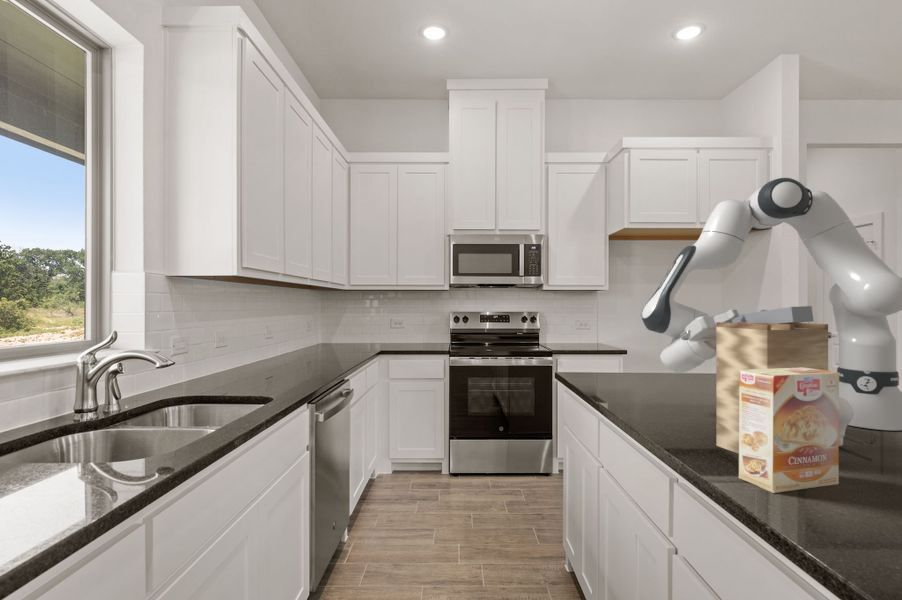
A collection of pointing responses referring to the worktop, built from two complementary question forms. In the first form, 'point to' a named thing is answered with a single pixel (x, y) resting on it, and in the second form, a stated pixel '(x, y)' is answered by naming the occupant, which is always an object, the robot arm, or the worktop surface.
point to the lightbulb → (844, 417)
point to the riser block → (759, 362)
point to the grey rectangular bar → (778, 316)
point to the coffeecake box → (789, 428)
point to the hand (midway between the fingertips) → (751, 312)
